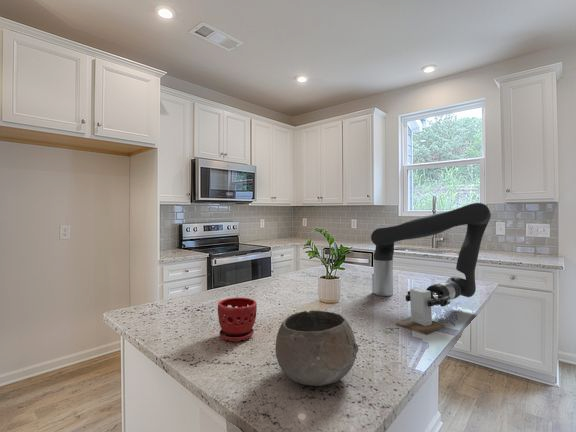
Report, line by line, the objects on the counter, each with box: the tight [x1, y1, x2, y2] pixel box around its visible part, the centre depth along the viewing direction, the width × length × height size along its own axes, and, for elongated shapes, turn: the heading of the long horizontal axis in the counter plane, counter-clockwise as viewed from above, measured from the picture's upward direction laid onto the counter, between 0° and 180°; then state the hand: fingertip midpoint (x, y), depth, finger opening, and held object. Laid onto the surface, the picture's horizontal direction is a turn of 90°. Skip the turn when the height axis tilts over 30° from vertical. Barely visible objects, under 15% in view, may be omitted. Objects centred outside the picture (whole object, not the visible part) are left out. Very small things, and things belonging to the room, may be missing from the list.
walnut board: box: [395, 316, 446, 335], centre depth 116 cm, size 12×12×1 cm
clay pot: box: [274, 309, 359, 387], centre depth 82 cm, size 21×21×15 cm
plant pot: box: [217, 297, 258, 342], centre depth 109 cm, size 13×13×12 cm
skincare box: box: [409, 287, 433, 326], centre depth 116 cm, size 6×4×12 cm
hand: (417, 301), depth 114 cm, fingers open, 8 cm apart
